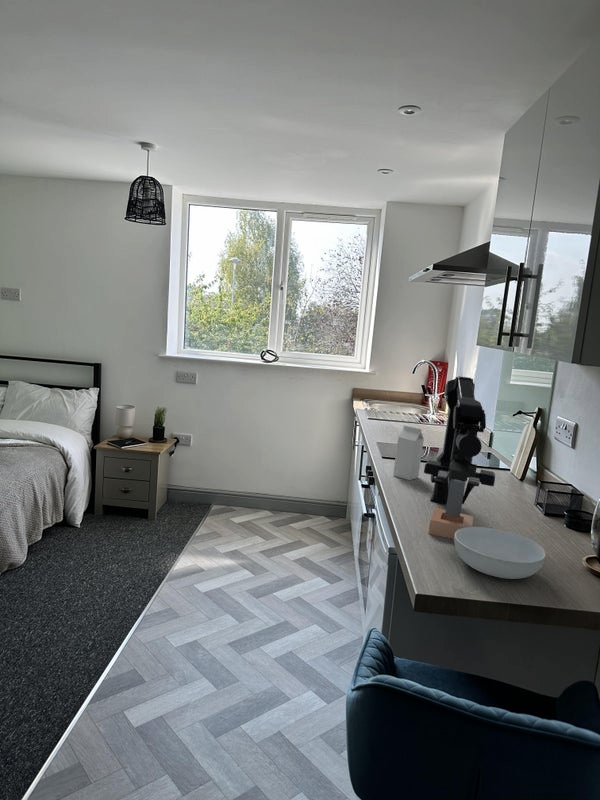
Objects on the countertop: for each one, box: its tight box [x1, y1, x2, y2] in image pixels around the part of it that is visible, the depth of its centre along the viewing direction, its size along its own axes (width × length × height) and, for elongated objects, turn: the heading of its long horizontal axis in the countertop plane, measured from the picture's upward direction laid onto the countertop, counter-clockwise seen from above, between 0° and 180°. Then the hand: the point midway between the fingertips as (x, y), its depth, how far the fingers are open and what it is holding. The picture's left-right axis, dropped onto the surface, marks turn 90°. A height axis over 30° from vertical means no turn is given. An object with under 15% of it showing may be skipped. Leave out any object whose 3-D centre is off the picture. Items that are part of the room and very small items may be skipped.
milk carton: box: [392, 425, 425, 481], centre depth 205 cm, size 7×7×19 cm
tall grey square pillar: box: [445, 479, 467, 518], centre depth 153 cm, size 4×4×10 cm
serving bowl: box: [453, 526, 547, 580], centre depth 133 cm, size 21×21×7 cm
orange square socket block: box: [428, 507, 474, 540], centre depth 155 cm, size 11×11×4 cm
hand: (454, 502), depth 154 cm, fingers closed on tall grey square pillar, 4 cm apart
